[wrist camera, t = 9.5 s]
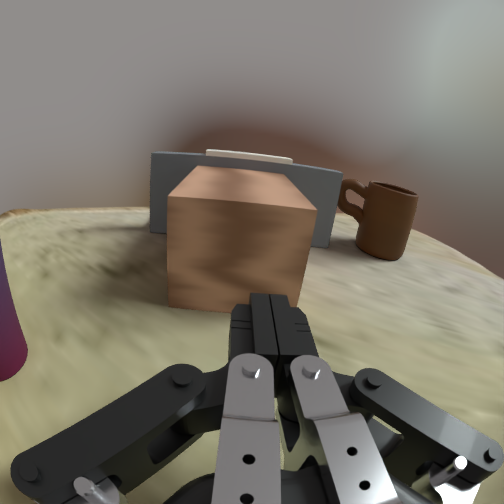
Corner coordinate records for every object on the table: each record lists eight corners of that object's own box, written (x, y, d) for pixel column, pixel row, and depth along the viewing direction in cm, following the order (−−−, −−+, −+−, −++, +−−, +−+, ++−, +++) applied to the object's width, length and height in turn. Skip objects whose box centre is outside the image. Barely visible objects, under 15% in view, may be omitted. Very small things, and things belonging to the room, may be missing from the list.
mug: (324, 247, 37) (339, 177, 33) (325, 230, 44) (337, 171, 40) (406, 266, 35) (426, 200, 31) (396, 246, 41) (411, 189, 38)
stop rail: (314, 229, 43) (327, 161, 39) (327, 248, 37) (344, 168, 32) (162, 215, 41) (165, 144, 37) (149, 232, 35) (151, 148, 30)
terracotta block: (272, 244, 36) (283, 173, 32) (293, 318, 23) (317, 210, 19) (193, 237, 35) (197, 165, 32) (168, 308, 22) (167, 195, 18)
